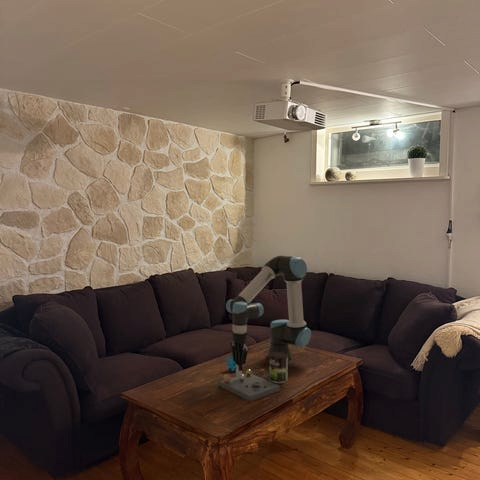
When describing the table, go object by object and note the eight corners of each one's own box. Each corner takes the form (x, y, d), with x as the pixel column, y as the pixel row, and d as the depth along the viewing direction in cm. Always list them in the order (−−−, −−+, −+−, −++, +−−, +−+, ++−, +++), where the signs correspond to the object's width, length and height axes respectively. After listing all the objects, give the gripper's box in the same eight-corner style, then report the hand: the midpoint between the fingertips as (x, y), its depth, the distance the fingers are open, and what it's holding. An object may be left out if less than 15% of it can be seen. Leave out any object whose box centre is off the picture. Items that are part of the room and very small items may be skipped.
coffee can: (280, 384, 234) (280, 358, 233) (264, 379, 241) (265, 354, 240) (291, 379, 242) (292, 354, 241) (276, 374, 249) (277, 349, 248)
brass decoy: (249, 373, 243) (249, 368, 243) (253, 375, 241) (253, 369, 241) (244, 375, 241) (244, 369, 241) (248, 376, 239) (248, 370, 238)
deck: (219, 386, 232) (219, 381, 232) (248, 377, 245) (248, 372, 245) (250, 401, 214) (250, 396, 214) (279, 390, 227) (279, 385, 227)
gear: (229, 371, 249) (224, 355, 255) (225, 376, 253) (220, 360, 259) (246, 370, 255) (241, 354, 261) (241, 375, 258) (236, 359, 265)
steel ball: (242, 373, 236) (245, 373, 233) (243, 379, 236) (246, 379, 233) (237, 375, 234) (240, 375, 231) (238, 381, 234) (242, 381, 231)
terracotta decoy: (227, 380, 234) (227, 372, 234) (232, 382, 231) (232, 374, 231) (221, 381, 232) (221, 374, 231) (226, 384, 228) (226, 376, 228)
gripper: (226, 330, 236) (225, 374, 238) (241, 336, 226) (241, 381, 228) (237, 328, 241) (236, 370, 242) (253, 333, 231) (252, 378, 232)
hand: (238, 376), depth 235 cm, fingers closed
